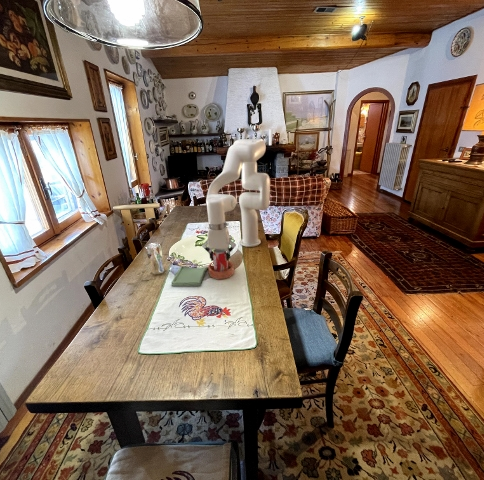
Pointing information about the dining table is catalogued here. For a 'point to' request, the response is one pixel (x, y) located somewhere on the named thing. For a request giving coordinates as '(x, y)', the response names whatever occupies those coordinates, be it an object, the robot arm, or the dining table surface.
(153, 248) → the beer glass
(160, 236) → the dining table surface
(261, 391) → the dining table surface
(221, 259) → the soda can
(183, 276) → the tray
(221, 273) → the bowl
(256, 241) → the robot arm
